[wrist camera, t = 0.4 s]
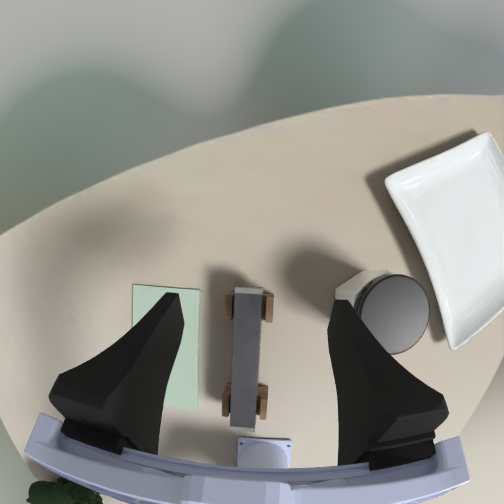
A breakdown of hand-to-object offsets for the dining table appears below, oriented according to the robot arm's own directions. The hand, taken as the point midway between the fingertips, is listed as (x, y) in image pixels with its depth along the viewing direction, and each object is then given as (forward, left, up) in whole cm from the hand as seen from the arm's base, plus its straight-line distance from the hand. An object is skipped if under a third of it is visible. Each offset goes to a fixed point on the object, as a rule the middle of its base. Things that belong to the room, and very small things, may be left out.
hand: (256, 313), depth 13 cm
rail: (-9, +2, -22) cm, 24 cm away
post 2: (-15, +2, -26) cm, 30 cm away
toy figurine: (-49, +39, -26) cm, 68 cm away
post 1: (-2, +2, -26) cm, 26 cm away
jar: (-2, -13, -26) cm, 29 cm away
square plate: (+9, -33, -26) cm, 43 cm away
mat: (-10, +14, -26) cm, 31 cm away
